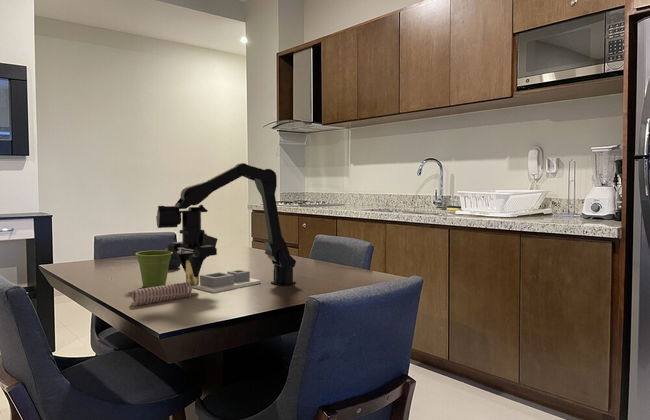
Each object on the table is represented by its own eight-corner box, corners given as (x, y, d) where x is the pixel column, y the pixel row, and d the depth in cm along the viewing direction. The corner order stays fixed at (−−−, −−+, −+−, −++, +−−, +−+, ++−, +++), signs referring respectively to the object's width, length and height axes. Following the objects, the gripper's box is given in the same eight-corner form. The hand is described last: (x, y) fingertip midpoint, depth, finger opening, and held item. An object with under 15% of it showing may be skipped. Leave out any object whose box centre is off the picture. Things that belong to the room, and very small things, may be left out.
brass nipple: (201, 284, 154) (201, 259, 154) (190, 286, 151) (190, 261, 151) (194, 283, 157) (193, 258, 157) (183, 285, 154) (183, 259, 154)
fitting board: (261, 283, 169) (260, 271, 169) (212, 292, 154) (212, 280, 154) (239, 278, 177) (239, 267, 177) (191, 287, 162) (191, 275, 162)
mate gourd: (183, 267, 202) (183, 242, 201) (178, 270, 194) (178, 245, 194) (165, 267, 201) (165, 242, 201) (160, 270, 194) (159, 245, 193)
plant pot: (134, 290, 157) (133, 255, 156) (137, 283, 168) (137, 250, 168) (172, 288, 160) (172, 254, 159) (173, 281, 171) (173, 249, 171)
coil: (186, 281, 151) (128, 289, 139) (193, 281, 148) (134, 290, 136) (187, 296, 151) (129, 305, 139) (194, 297, 148) (135, 307, 136)
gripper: (230, 226, 153) (231, 276, 154) (196, 223, 165) (197, 269, 166) (200, 229, 145) (201, 281, 146) (167, 225, 157) (167, 273, 158)
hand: (192, 276), depth 154 cm, fingers closed on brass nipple, 4 cm apart
